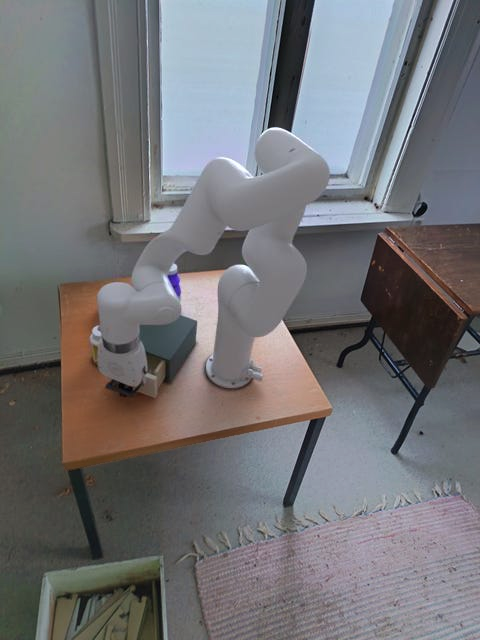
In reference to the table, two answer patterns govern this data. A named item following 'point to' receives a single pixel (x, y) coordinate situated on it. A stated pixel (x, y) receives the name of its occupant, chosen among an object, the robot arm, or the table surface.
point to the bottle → (175, 280)
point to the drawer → (153, 377)
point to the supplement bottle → (95, 342)
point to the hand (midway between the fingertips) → (126, 392)
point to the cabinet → (170, 342)
